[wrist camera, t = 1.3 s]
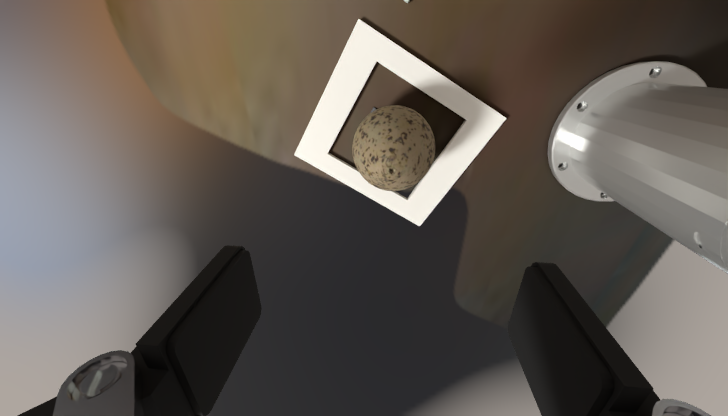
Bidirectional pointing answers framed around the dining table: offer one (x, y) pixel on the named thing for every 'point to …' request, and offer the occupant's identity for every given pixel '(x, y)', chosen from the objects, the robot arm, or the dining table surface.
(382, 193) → the white square frame
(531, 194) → the dining table surface
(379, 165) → the decorative egg
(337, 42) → the dining table surface
